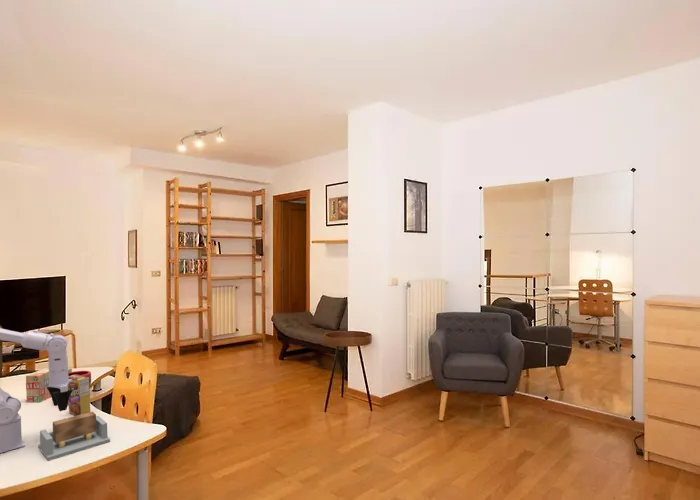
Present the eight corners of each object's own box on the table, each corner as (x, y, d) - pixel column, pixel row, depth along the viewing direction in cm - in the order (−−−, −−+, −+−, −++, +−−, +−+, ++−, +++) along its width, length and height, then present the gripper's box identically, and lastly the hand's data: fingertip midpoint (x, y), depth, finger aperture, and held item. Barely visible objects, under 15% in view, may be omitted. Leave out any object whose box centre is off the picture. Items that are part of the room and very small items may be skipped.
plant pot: (98, 395, 199) (97, 369, 199) (77, 406, 186) (76, 378, 186) (71, 395, 200) (70, 369, 200) (49, 405, 187) (48, 378, 187)
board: (55, 443, 144) (55, 424, 144) (53, 439, 146) (52, 421, 146) (96, 431, 152) (95, 414, 152) (93, 428, 155) (92, 411, 155)
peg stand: (47, 460, 138) (47, 441, 138) (38, 447, 148) (37, 429, 148) (110, 441, 151) (109, 424, 151) (97, 430, 160) (97, 414, 160)
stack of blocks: (60, 387, 213) (59, 362, 213) (72, 387, 213) (72, 362, 213) (26, 403, 192) (25, 375, 192) (40, 403, 192) (39, 375, 192)
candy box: (67, 413, 178) (66, 376, 177) (78, 410, 181) (77, 373, 181) (80, 417, 173) (78, 379, 173) (91, 414, 177) (89, 376, 177)
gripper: (76, 370, 153) (78, 409, 153) (66, 363, 163) (67, 399, 163) (53, 375, 148) (55, 415, 148) (43, 368, 158) (45, 405, 158)
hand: (60, 407), depth 156 cm, fingers open, 7 cm apart
